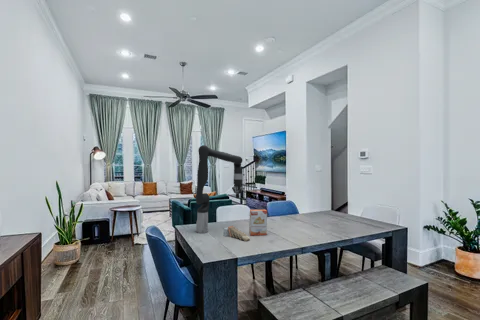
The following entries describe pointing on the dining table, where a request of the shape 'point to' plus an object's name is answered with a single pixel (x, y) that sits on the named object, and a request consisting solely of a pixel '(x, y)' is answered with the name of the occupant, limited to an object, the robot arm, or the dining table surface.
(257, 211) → the cracker box
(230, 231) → the domino
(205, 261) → the dining table surface
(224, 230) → the end block
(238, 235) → the domino
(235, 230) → the domino
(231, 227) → the domino
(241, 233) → the domino
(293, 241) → the dining table surface
